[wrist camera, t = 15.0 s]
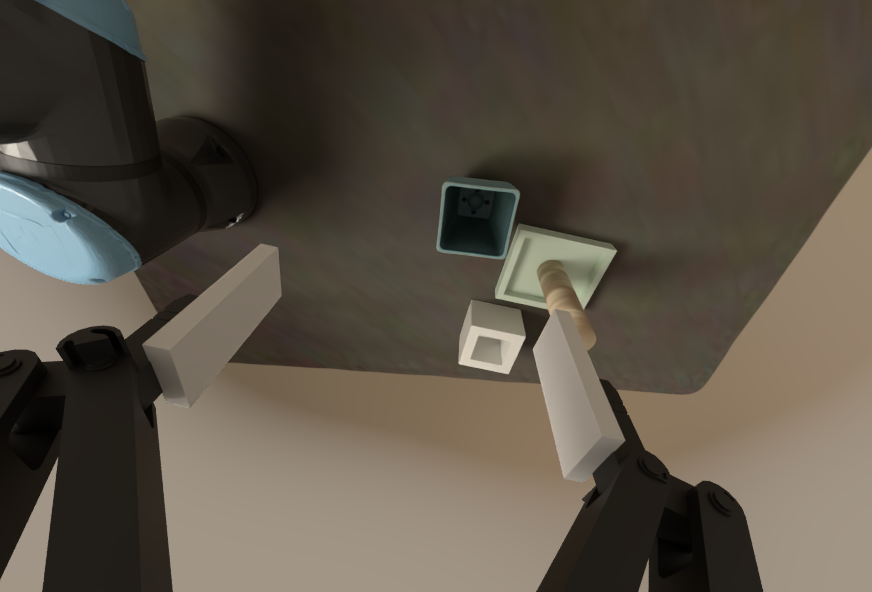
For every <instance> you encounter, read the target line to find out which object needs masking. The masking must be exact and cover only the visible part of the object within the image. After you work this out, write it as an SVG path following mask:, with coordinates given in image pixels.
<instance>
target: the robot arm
mask: <svg viewBox="0 0 872 592" xmlns="http://www.w3.org/2000/svg"><path fill="white" fill-rule="evenodd" d="M145 62H146V63H147V58H146V56H145V55H144V54H143V52H142V48H141V44H140V39H139V35H138V30H137V26H136V21H135V18H134V15H133V12H132V10H131V9H130V7H129V5H128V4H127V3H126V1H125V0H0V248H2V249H3V250H4V251H6V252H7V253H9V254H10V255H12V256H13V257H15V258H17V259H18V260H20V261H21V262H23V263H25V264H26V265H28V266H30V267H32V268H34V269H36V270H38V271H40V272H42V273H44V274H47V275H49V276H52V277H55V278H57V279H61V280H64V281H67V282H72V283H77V284H87V285H91V284H102V283H106V282H109V281H111V280H113V279H115V278H118V277H119V276H122V275H123V274H126V273H128V272H132V271H135V270H137V269H138V268H139V267H141V266H142V265H144V264H146V263H147V262H149V261H151V260H152V259H154V258H155V257H157V256H159V255H160V254H162V253H164V252H165V251H167V250H169V249H170V248H172V247H173V246H175V245H177V244H178V243H180V242H182V241H183V240H185V239H187V238H188V237H190V236H191V235H193V234H195V233H197V232H205V231H213V230H221V229H227V228H230V227H233V226H235V225H237V224H238V223H240V222H241V221H243V220H244V219H246V218H247V217H248V216H249V215H250V214H251V213H252V211H253V210H254V207H255V205H256V201H257V183H256V179H255V175H254V173H253V170H252V168H251V165H250V163H249V162H248V160H247V158H246V157H245V155H244V154H243V152H242V151H241V150H240V148H239V147H238V146H237V145H236V144H235V143H234V142H233V141H232V140H231V139H230V138H229V137H228V136H227V135H226V134H225V133H223V132H222V131H221V130H219V129H218V128H216V127H215V126H213V125H211V124H209V123H207V122H205V121H202V120H200V119H196V118H192V117H182V116H181V117H173V118H166V119H162V120H159V121H156V122H155V117H154V111H153V106H152V100H151V94H150V89H149V83H148V78H147V72H146V67H145ZM280 297H281V282H280V268H279V255H278V247H274V246H269V245H265V244H260V245H259V246H258V247H256V248H255V249H254V250H253V251H252V252H251V253H249V254H248V255H247V256H246V257H245V258H243V259H242V260H241V261H240V262H239V263H238V264H236V265H235V266H234V267H233V268H232V269H231V270H229V271H228V272H227V273H226V274H225V275H223V276H222V277H221V278H220V279H219V280H218V281H216V282H215V283H214V284H213V285H212V286H210V287H209V288H208V289H207V290H206V291H205V292H203V293H202V294H201V295H200V296H197V295H192V294H188V295H186V296H184V297H181V298H179V299H177V300H174V301H173V302H172V303H170V304H169V305H168V306H167V307H165V308H164V309H163V311H162V312H161V311H160V312H159V313H158V314H156V315H155V316H154V317H153V319H150V320H149V321H148V322H146V323H145V324H144V325H143V326H141V327H140V328H139V329H138V330H136V331H135V332H134V333H133V334H131V335H130V336H129V337H127V338H126V339H125V340H124V337H123V335H122V333H121V331H120V330H119V329H117V328H115V327H111V326H94V327H89V328H85V329H81V330H78V331H76V332H74V333H72V334H70V335H68V336H67V337H65V338H64V339H62V340H61V341H60V342H59V344H58V345H57V347H56V350H57V352H58V353H59V355H60V356H61V358H62V359H63V361H53V362H41V360H40V359H39V357H38V356H37V355H36V353H35V352H32V351H29V350H10V351H4V352H0V579H1V577H2V575H3V573H4V570H5V568H6V566H7V564H8V562H9V560H10V558H11V555H12V553H13V551H14V549H15V547H16V545H17V543H18V541H19V539H20V536H21V534H22V532H23V530H24V528H25V526H26V524H27V522H28V519H29V517H30V515H31V513H32V511H33V509H34V507H35V505H36V503H37V500H38V498H39V496H40V494H41V492H42V490H43V488H44V485H45V483H46V481H47V479H48V477H49V475H50V473H51V471H52V469H53V466H54V464H55V462H56V460H57V458H58V465H57V473H56V482H55V490H54V499H53V507H52V515H51V524H50V532H49V540H48V548H47V557H46V565H45V573H44V582H43V590H42V592H173V590H172V579H171V568H170V557H169V547H168V536H167V525H166V514H165V504H164V493H163V482H162V471H161V461H160V450H159V439H158V429H157V418H156V408H155V405H154V403H153V402H154V401H155V400H156V399H157V398H158V396H159V395H160V394H161V393H163V396H164V398H165V401H166V403H167V404H171V405H177V406H182V407H187V408H191V407H192V405H193V404H194V403H195V402H196V400H197V399H198V398H199V397H200V395H201V394H202V393H203V392H204V390H205V389H206V388H207V387H208V386H209V384H210V383H211V382H212V380H213V379H214V378H215V377H216V376H217V375H218V373H219V372H220V371H221V370H222V368H223V367H224V366H225V365H226V364H227V362H228V361H229V360H230V359H231V357H232V356H233V355H234V354H235V352H236V351H237V350H238V349H239V348H240V346H241V345H242V344H243V343H244V341H245V340H246V339H247V338H248V337H249V335H250V334H251V333H252V332H253V330H254V329H255V328H256V327H257V325H258V324H259V323H260V322H261V321H262V319H263V318H264V317H265V316H266V314H267V313H268V312H269V311H270V310H271V308H272V307H273V306H274V305H275V303H276V302H277V301H278V300H279V298H280ZM533 352H534V356H535V360H536V365H537V369H538V373H539V377H540V381H541V385H542V390H543V394H544V398H545V402H546V406H547V410H548V414H549V418H550V423H551V427H552V431H553V435H554V439H555V443H556V448H557V452H558V456H559V459H560V464H561V468H562V472H563V477H564V479H568V480H573V481H579V482H585V481H586V480H587V479H588V478H589V477H590V476H591V475H592V474H593V477H594V480H595V483H596V486H595V487H594V488H593V489H592V490H591V491H590V492H589V493H588V494H587V495H586V496H585V497H584V498H583V499H582V500H583V501H584V502H585V503H584V505H583V507H582V509H581V510H580V512H579V514H578V516H577V518H576V520H575V521H574V523H573V525H572V527H571V529H570V531H569V532H568V534H567V536H566V538H565V540H564V542H563V543H562V546H561V547H560V549H559V551H558V553H557V555H556V556H555V558H554V560H553V562H552V564H551V566H550V567H549V569H548V571H547V573H546V575H545V577H544V579H543V580H542V582H541V584H540V586H539V588H538V590H537V591H536V592H638V591H639V587H640V584H641V581H642V577H643V574H644V571H645V568H646V565H647V561H648V558H649V592H763V589H762V585H761V580H760V576H759V572H758V567H757V563H756V559H755V555H754V550H753V546H752V542H751V538H750V533H749V529H748V525H747V520H746V517H745V515H744V512H743V509H742V508H741V506H740V505H739V504H738V502H737V501H736V499H735V498H734V497H732V495H731V494H730V493H729V492H727V491H726V490H725V489H723V488H722V487H720V486H719V485H717V484H715V483H713V482H710V481H702V482H700V483H699V484H697V485H696V486H695V487H694V486H692V485H690V484H688V483H686V482H684V481H682V480H680V479H678V478H676V477H674V476H672V475H670V474H669V472H668V469H667V468H666V467H665V465H664V464H663V463H662V462H661V461H660V460H659V459H658V458H657V457H656V456H655V455H653V454H651V453H650V452H648V451H646V450H645V449H644V447H643V445H642V442H641V440H640V438H639V436H638V434H637V432H636V430H635V428H634V426H633V423H632V421H631V419H630V417H629V415H627V411H626V409H625V407H624V406H623V402H622V400H621V398H620V396H619V394H618V392H617V391H616V389H615V388H614V387H613V386H612V385H611V384H610V382H609V381H607V380H602V379H599V378H598V376H597V374H596V371H595V369H594V367H593V364H592V362H591V360H590V357H589V355H588V353H587V351H586V348H585V346H584V344H583V341H582V339H581V337H580V334H579V332H578V330H577V327H576V325H575V323H574V320H573V318H572V316H571V313H570V312H568V311H564V310H559V309H555V308H554V310H553V312H552V314H551V316H550V318H549V320H548V322H547V324H546V325H545V327H544V329H543V331H542V333H541V335H540V337H539V339H538V340H537V342H536V344H535V346H534V348H533Z"/></svg>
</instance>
